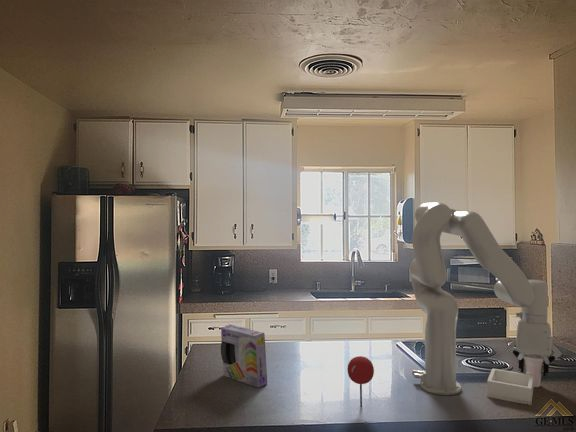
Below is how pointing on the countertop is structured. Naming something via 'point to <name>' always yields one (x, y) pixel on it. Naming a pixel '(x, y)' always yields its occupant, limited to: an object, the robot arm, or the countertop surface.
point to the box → (510, 386)
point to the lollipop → (360, 372)
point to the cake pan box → (244, 355)
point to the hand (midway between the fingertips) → (533, 372)
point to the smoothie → (534, 367)
